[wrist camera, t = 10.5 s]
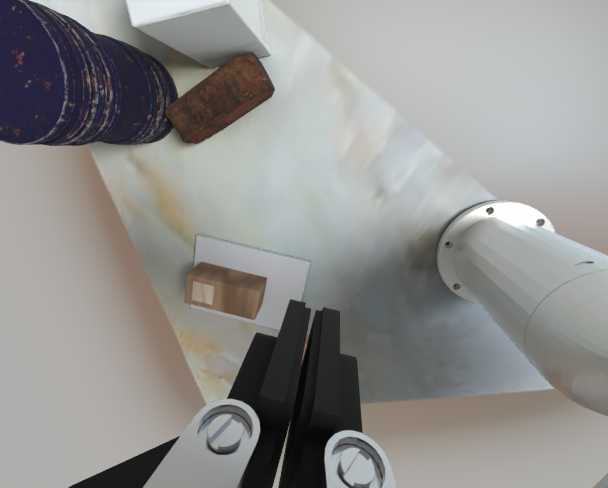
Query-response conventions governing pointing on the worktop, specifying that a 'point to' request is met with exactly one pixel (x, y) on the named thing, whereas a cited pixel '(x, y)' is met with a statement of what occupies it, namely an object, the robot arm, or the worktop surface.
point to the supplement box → (204, 27)
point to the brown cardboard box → (225, 290)
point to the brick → (221, 99)
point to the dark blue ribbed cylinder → (76, 83)
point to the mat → (274, 266)
